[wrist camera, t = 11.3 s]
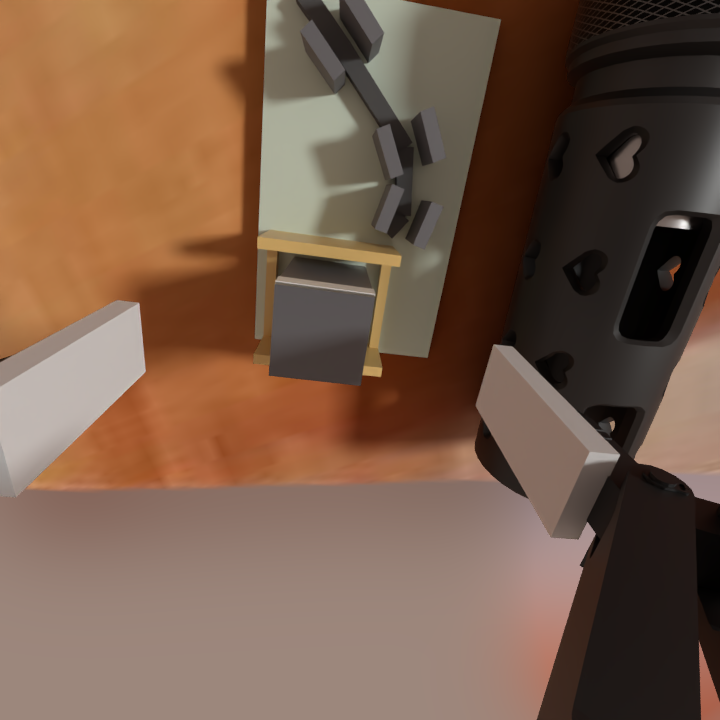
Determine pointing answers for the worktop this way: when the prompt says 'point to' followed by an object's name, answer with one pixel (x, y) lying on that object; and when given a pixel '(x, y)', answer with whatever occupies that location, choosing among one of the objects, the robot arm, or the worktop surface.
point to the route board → (373, 144)
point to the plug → (321, 321)
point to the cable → (367, 100)
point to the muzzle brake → (622, 217)
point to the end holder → (329, 249)
